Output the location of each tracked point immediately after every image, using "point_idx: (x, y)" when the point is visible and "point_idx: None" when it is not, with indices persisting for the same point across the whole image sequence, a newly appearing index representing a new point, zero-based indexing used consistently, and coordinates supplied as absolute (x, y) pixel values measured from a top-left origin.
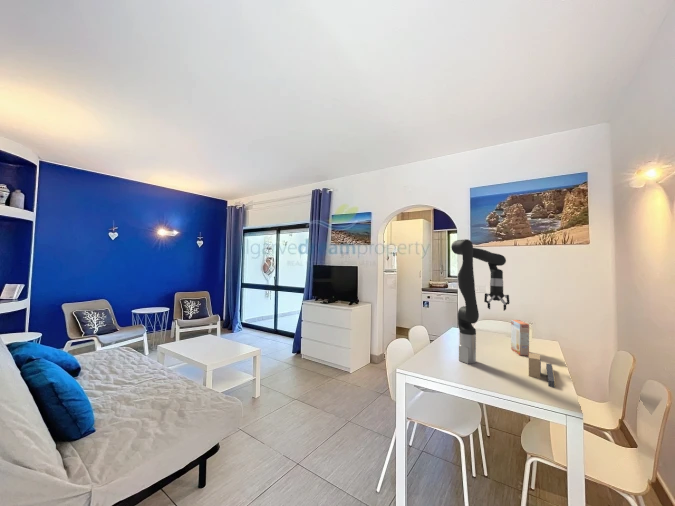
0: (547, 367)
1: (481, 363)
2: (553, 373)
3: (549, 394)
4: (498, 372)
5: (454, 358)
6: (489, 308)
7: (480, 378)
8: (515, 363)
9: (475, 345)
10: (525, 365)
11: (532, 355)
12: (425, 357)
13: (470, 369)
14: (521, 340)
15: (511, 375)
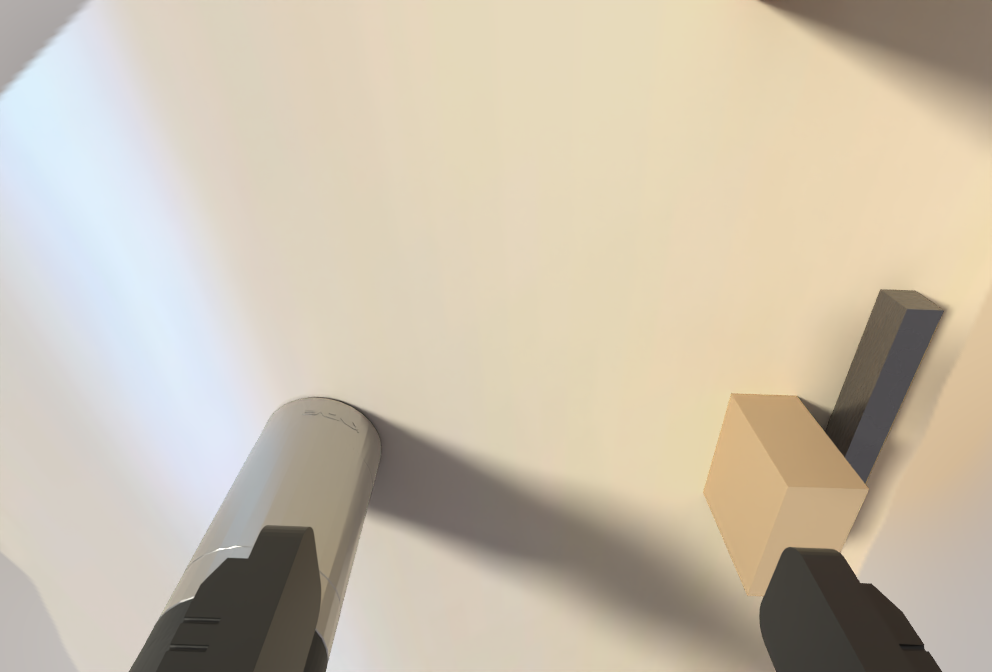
0: (871, 404)
1: (419, 438)
2: (865, 482)
3: (744, 638)
4: (534, 526)
5: (228, 443)
6: (305, 627)
7: (453, 632)
8: (658, 301)
9: (353, 559)
10: (730, 305)
11: (793, 541)
12: (69, 524)
13: (382, 561)
14: None
15: (604, 530)
